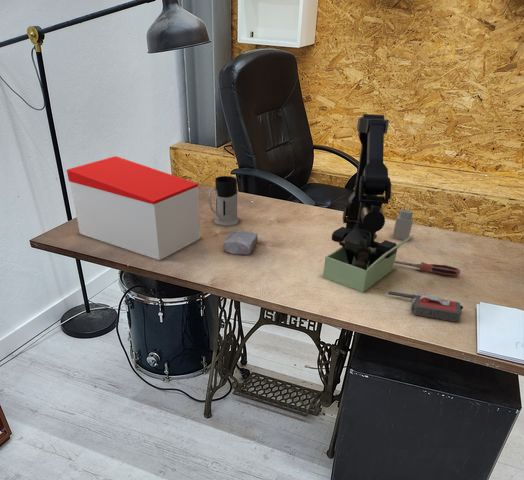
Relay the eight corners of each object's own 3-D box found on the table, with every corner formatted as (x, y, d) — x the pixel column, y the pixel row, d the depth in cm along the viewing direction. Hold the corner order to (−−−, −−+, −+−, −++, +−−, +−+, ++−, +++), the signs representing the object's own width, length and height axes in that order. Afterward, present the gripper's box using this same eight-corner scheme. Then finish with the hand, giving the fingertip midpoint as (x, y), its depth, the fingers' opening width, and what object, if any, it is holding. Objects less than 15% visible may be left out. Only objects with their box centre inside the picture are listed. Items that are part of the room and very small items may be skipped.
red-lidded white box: (123, 215, 173) (115, 155, 161) (200, 238, 159) (197, 175, 147) (78, 233, 159) (66, 169, 146) (159, 260, 145) (152, 192, 133)
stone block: (222, 257, 152) (252, 255, 150) (219, 243, 150) (249, 241, 147) (231, 244, 162) (260, 242, 159) (229, 230, 159) (257, 228, 157)
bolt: (352, 287, 138) (359, 264, 150) (368, 282, 136) (374, 259, 147) (344, 270, 136) (352, 248, 147) (361, 265, 133) (368, 243, 145)
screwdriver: (376, 265, 148) (378, 256, 146) (377, 261, 150) (379, 252, 149) (458, 279, 143) (461, 270, 141) (458, 275, 145) (461, 266, 143)
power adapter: (394, 234, 169) (401, 201, 162) (409, 238, 167) (417, 204, 160) (391, 237, 166) (398, 204, 159) (407, 241, 164) (414, 207, 157)
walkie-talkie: (460, 307, 129) (386, 294, 133) (465, 293, 126) (389, 280, 131) (462, 324, 122) (384, 310, 126) (467, 309, 120) (387, 295, 124)
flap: (413, 234, 137) (414, 235, 137) (397, 247, 142) (398, 248, 142) (383, 254, 125) (384, 255, 125) (366, 268, 130) (367, 269, 130)
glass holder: (243, 220, 174) (243, 178, 165) (220, 232, 164) (219, 188, 155) (223, 214, 178) (223, 174, 169) (200, 226, 168) (198, 183, 159)
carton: (354, 256, 153) (357, 237, 149) (392, 269, 146) (397, 250, 142) (322, 276, 140) (325, 256, 137) (362, 292, 134) (366, 271, 130)
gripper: (324, 217, 133) (318, 267, 142) (385, 235, 123) (374, 288, 133) (345, 207, 140) (338, 255, 149) (403, 224, 131) (392, 274, 140)
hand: (359, 268), depth 142 cm, fingers closed on bolt, 6 cm apart
